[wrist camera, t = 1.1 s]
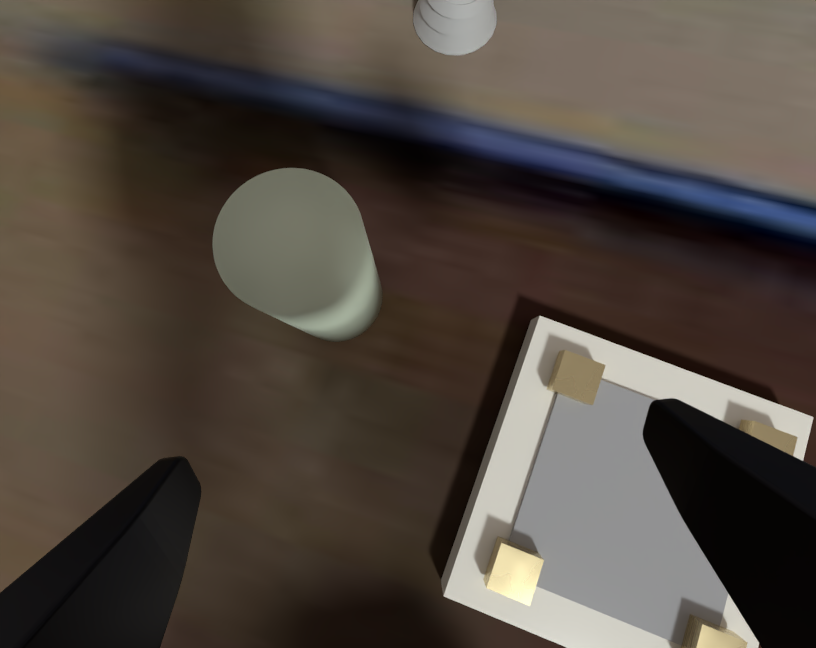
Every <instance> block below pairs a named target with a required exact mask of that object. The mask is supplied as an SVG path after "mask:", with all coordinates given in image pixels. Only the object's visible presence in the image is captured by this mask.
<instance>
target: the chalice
mask: <svg viewBox="0 0 816 648" xmlns="http://www.w3.org/2000/svg"><path fill="white" fill-rule="evenodd" d="M413 24H414V27H415V30H416V33H417V35H418V36H419V37H420V39H421V40H422V41H423V43H424V44H425V45H427V46H428V47H430V48H431V49H433V50H434V51H436V52H440V53H443V54H446V55H463V54H467V53H471V52H474V51H476V50H477V49H479V48H480V47H482V46H484V45H485V44H486V42H487V41H488V40H489V39H490V38H491V36H492V35H493V32H494V30H495V27H496V10H495V8H494V5H493V0H418V2H417V4H416V7H415V9H414V14H413Z"/></svg>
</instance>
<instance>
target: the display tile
mask: <svg viewBox="0 0 816 648" xmlns="http://www.w3.org/2000/svg"><path fill="white" fill-rule="evenodd" d="M668 398H675V399H678V400H680V401H683V402H685V403H687V404H689V405H691V406H693V407H695V408H697V409H699V410H701V411H703V412H705V413H707V414H709V415H711V416H713V417H715V418H717V419H719V420H721V421H723V422H725V423H727V424H729V425H731V426H733V427H735V428H737V429H739V430H741V431H743V432H745V433H747V434H749V435H751V436H753V437H755V438H757V439H759V440H761V441H764V442H766V443H768V444H770V445H772V446H774V447H776V448H778V449H780V450H782V451H784V452H786V453H788V454H790V455H792V456H794V457H796V458H798V459H800V460H802V461H803V459H804V454H805V450H806V446H807V442H808V438H809V434H810V429H811V425H812V421H813V417H811V416H809V415H806V414H803V413H801V412H798V411H795V410H792V409H790V408H787V407H784V406H782V405H779V404H776V403H774V402H771V401H768V400H766V399H763V398H760V397H757V396H755V395H752V394H749V393H747V392H744V391H741V390H739V389H736V388H733V387H731V386H728V385H725V384H723V383H720V382H717V381H714V380H712V379H709V378H706V377H704V376H701V375H698V374H696V373H693V372H690V371H688V370H685V369H682V368H680V367H677V366H674V365H671V364H669V363H666V362H663V361H661V360H658V359H655V358H653V357H650V356H647V355H645V354H642V353H639V352H637V351H634V350H631V349H628V348H626V347H623V346H620V345H618V344H615V343H612V342H610V341H607V340H604V339H602V338H599V337H596V336H594V335H591V334H588V333H585V332H583V331H580V330H577V329H575V328H572V327H569V326H567V325H564V324H561V323H559V322H556V321H553V320H550V319H548V318H545V317H542V316H538V317H536V318H534V319H532V320H531V321H530V324H529V327H528V330H527V333H526V336H525V339H524V342H523V345H522V347H521V350H520V353H519V356H518V359H517V362H516V365H515V368H514V371H513V373H512V376H511V379H510V382H509V385H508V388H507V391H506V394H505V397H504V399H503V402H502V405H501V408H500V411H499V414H498V417H497V420H496V423H495V426H494V428H493V431H492V434H491V437H490V440H489V443H488V446H487V449H486V452H485V454H484V457H483V460H482V463H481V466H480V469H479V472H478V475H477V478H476V480H475V483H474V486H473V489H472V492H471V495H470V498H469V501H468V504H467V506H466V509H465V512H464V515H463V518H462V521H461V524H460V527H459V530H458V532H457V535H456V538H455V541H454V544H453V547H452V550H451V553H450V556H449V558H448V561H447V564H446V567H445V570H444V573H443V576H442V579H441V584H442V590H443V596H444V597H447V598H449V599H452V600H454V601H456V602H459V603H461V604H464V605H466V606H468V607H471V608H473V609H476V610H478V611H480V612H483V613H485V614H488V615H490V616H492V617H495V618H497V619H500V620H502V621H504V622H507V623H509V624H512V625H514V626H516V627H519V628H521V629H524V630H526V631H529V632H531V633H533V634H536V635H538V636H541V637H543V638H545V639H548V640H550V641H553V642H555V643H557V644H560V645H562V646H565V647H567V648H758V646H759V642H758V641H757V639H756V637H755V636H754V634H753V632H752V631H751V629H750V628H749V626H748V624H747V623H746V621H745V620H744V618H743V616H742V615H741V613H740V612H739V610H738V608H737V607H736V605H735V603H734V602H733V600H732V599H731V597H730V595H729V594H728V592H727V591H726V589H725V587H724V586H723V584H722V582H721V581H720V579H719V578H718V576H717V574H716V573H715V571H714V570H713V568H712V566H711V565H710V563H709V562H708V560H707V558H706V557H705V555H704V553H703V552H702V550H701V549H700V547H699V545H698V544H697V542H696V541H695V539H694V537H693V536H692V534H691V532H690V531H689V529H688V527H687V526H686V524H685V522H684V521H683V519H682V517H681V515H680V514H679V512H678V510H677V508H676V506H675V504H674V502H673V500H672V498H671V496H670V494H669V492H668V490H667V488H666V486H665V484H664V482H663V480H662V478H661V476H660V474H659V472H658V469H657V467H656V465H655V463H654V461H653V459H652V457H651V455H650V453H649V451H648V449H647V447H646V445H645V443H644V440H643V427H644V423H645V420H646V416H647V412H648V409H649V405H650V404H651V402H652V401H654V400H659V399H668Z"/></svg>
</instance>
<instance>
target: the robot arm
mask: <svg viewBox="0 0 816 648" xmlns="http://www.w3.org/2000/svg"><path fill="white" fill-rule="evenodd" d="M643 440H644V443H645V445H646V447H647V449H648V451H649V453H650V455H651V457H652V459H653V461H654V463H655V465H656V467H657V469H658V472H659V474H660V476H661V478H662V480H663V482H664V484H665V486H666V488H667V490H668V492H669V494H670V496H671V498H672V500H673V502H674V504H675V506H676V508H677V510H678V512H679V514H680V515H681V517H682V519H683V521H684V522H685V524H686V526H687V527H688V529H689V531H690V532H691V534H692V536H693V537H694V539H695V541H696V542H697V544H698V545H699V547H700V549H701V550H702V552H703V553H704V555H705V557H706V558H707V560H708V562H709V563H710V565H711V566H712V568H713V570H714V571H715V573H716V574H717V576H718V578H719V579H720V581H721V582H722V584H723V586H724V587H725V589H726V591H727V592H728V594H729V595H730V597H731V599H732V600H733V602H734V603H735V605H736V607H737V608H738V610H739V612H740V613H741V615H742V616H743V618H744V620H745V621H746V623H747V624H748V626H749V628H750V629H751V631H752V632H753V634H754V636H755V637H756V639H757V641H758V642H759V644H760V645H761V647H762V648H816V467H814V466H812V465H810V464H808V463H806V462H804V461H802V460H800V459H798V458H796V457H794V456H792V455H790V454H788V453H786V452H784V451H782V450H780V449H778V448H776V447H774V446H772V445H770V444H768V443H766V442H764V441H761V440H759V439H757V438H755V437H753V436H751V435H749V434H747V433H745V432H743V431H741V430H739V429H737V428H735V427H733V426H731V425H729V424H727V423H725V422H723V421H721V420H719V419H717V418H715V417H713V416H711V415H709V414H707V413H705V412H703V411H701V410H699V409H697V408H695V407H693V406H691V405H689V404H687V403H685V402H683V401H680V400H678V399H675V398H668V399H659V400H654V401H652V402H651V404H650V405H649V409H648V412H647V416H646V420H645V423H644V427H643ZM200 497H201V486H200V483H199V481H198V479H197V477H196V475H195V473H194V471H193V469H192V468H191V466H190V464H189V462H188V460H187V459H186V458H185V457H182V456H178V457H169V458H163V459H160V460H158V461H157V462H156V463H155V464H153V465H152V466H151V467H150V468H149V469H147V470H146V471H145V472H144V473H143V474H141V475H140V476H139V477H138V478H137V479H135V480H134V481H133V482H132V483H131V484H130V485H128V486H127V487H126V488H125V489H124V490H122V491H121V492H120V493H119V494H118V495H116V496H115V497H114V498H113V499H112V500H110V501H109V502H108V503H107V504H106V505H104V506H103V507H102V508H101V509H100V510H98V511H97V512H96V513H95V514H94V515H93V516H91V517H90V518H89V519H88V520H87V521H85V522H84V523H83V524H82V525H81V526H79V527H78V528H77V529H76V530H75V531H73V532H72V533H71V534H70V535H69V536H67V537H66V538H65V539H64V540H63V541H61V542H60V543H59V544H58V545H57V546H56V547H54V548H53V549H52V550H51V551H50V552H48V553H47V554H46V555H45V556H44V557H42V558H41V559H40V560H39V561H38V562H36V563H35V564H34V565H33V566H32V567H30V568H29V569H28V570H27V571H26V572H24V573H23V574H22V575H21V576H20V577H19V578H17V579H16V580H15V581H14V582H13V583H11V584H10V585H9V586H8V587H7V588H5V589H4V590H3V591H2V592H1V593H0V648H160V646H161V642H162V639H163V636H164V633H165V630H166V627H167V624H168V621H169V618H170V615H171V612H172V609H173V606H174V603H175V600H176V597H177V594H178V590H179V587H180V584H181V581H182V577H183V573H184V569H185V565H186V561H187V556H188V552H189V547H190V543H191V538H192V534H193V529H194V525H195V520H196V516H197V511H198V507H199V502H200Z"/></svg>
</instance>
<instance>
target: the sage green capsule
mask: <svg viewBox="0 0 816 648" xmlns="http://www.w3.org/2000/svg"><path fill="white" fill-rule="evenodd" d="M212 247H213V256H214V261H215V265H216V267H217V270H218V272H219V275H220V276H221V278H222V280H223V282H224V283H225V284H226V286H227V287H228V288H229V290H230V291H231V292H232V293H233V294H234V295H235V296H236V297H238V298H239V299H240V300H242V301H243V302H245V303H246V304H248V305H250V306H252V307H254V308H256V309H258V310H260V311H262V312H264V313H266V314H268V315H270V316H273V317H275V318H277V319H279V320H281V321H283V322H285V323H287V324H289V325H291V326H294V327H296V328H298V329H300V330H302V331H304V332H306V333H308V334H310V335H312V336H314V337H317V338H319V339H322V340H326V341H333V342H338V341H346V340H349V339H352V338H355V337H357V336H359V335H360V334H362V333H363V332H365V331H366V330H367V329H368V328H369V327H370V326H371V325H372V324H373V322H374V321H375V320H376V318H377V316H378V314H379V311H380V309H381V305H382V287H381V283H380V279H379V276H378V273H377V269H376V266H375V262H374V259H373V255H372V252H371V248H370V245H369V242H368V238H367V235H366V231H365V228H364V224H363V221H362V218H361V214H360V212H359V210H358V207H357V205H356V204H355V202H354V200H353V199H352V197H351V196H350V195H349V194H348V193H347V191H346V190H345V189H344V188H343V187H341V186H340V185H339V184H338V183H337V182H335V181H334V180H332V179H331V178H329V177H327V176H325V175H323V174H321V173H318V172H315V171H312V170H307V169H301V168H282V169H276V170H272V171H268V172H265V173H262V174H260V175H258V176H256V177H254V178H252V179H250V180H248V181H247V182H246V183H244V184H243V185H242V186H240V187H239V188H238V189H237V190H236V191H235V192H234V193H233V194H232V195H231V196H230V197H229V199H228V200H227V201H226V203H225V204H224V206H223V207H222V209H221V211H220V213H219V215H218V218H217V221H216V224H215V227H214V232H213V244H212Z"/></svg>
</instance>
